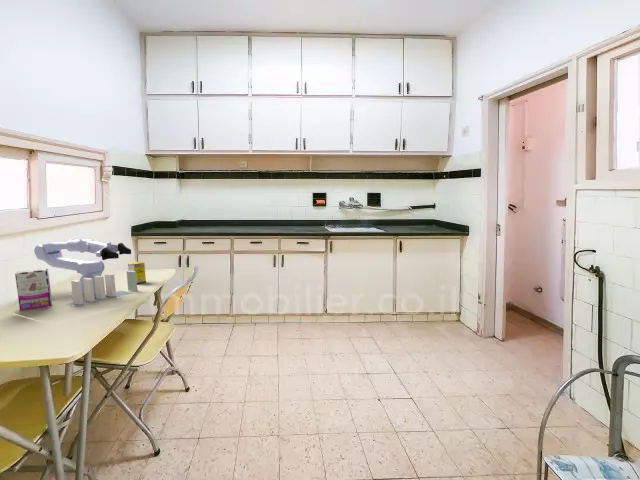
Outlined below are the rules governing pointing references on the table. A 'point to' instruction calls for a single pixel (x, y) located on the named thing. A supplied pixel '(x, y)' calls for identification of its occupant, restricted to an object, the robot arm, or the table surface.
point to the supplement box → (138, 271)
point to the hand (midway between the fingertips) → (124, 253)
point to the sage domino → (132, 280)
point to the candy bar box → (33, 289)
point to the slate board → (118, 294)
